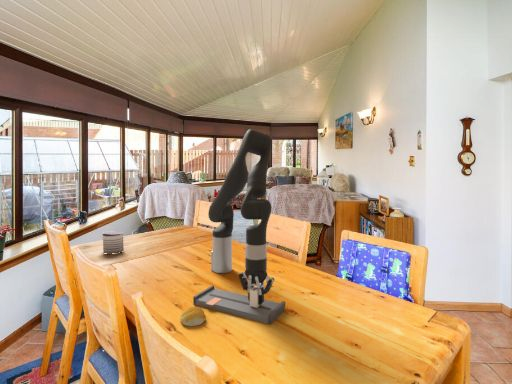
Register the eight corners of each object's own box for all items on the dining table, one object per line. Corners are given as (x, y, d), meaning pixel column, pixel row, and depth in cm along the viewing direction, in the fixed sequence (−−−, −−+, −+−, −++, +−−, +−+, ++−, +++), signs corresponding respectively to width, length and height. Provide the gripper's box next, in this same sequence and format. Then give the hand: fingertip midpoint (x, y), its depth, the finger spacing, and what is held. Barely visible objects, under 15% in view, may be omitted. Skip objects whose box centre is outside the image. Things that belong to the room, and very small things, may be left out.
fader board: (191, 305, 120) (191, 297, 120) (212, 292, 132) (212, 285, 131) (269, 326, 105) (269, 317, 105) (285, 309, 117) (285, 301, 117)
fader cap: (249, 306, 114) (249, 289, 114) (254, 301, 118) (255, 285, 117) (257, 307, 113) (257, 290, 112) (262, 303, 117) (262, 286, 116)
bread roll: (202, 312, 115) (202, 301, 115) (207, 324, 106) (207, 313, 106) (179, 316, 112) (178, 305, 112) (181, 328, 104) (181, 316, 103)
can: (100, 252, 189) (99, 231, 187) (120, 248, 196) (119, 228, 195) (106, 256, 180) (105, 235, 179) (127, 252, 188) (126, 232, 187)
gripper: (278, 255, 114) (278, 302, 115) (244, 250, 120) (244, 295, 122) (269, 261, 107) (269, 311, 109) (233, 255, 114) (233, 302, 115)
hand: (255, 302), depth 115 cm, fingers closed on fader cap, 3 cm apart
